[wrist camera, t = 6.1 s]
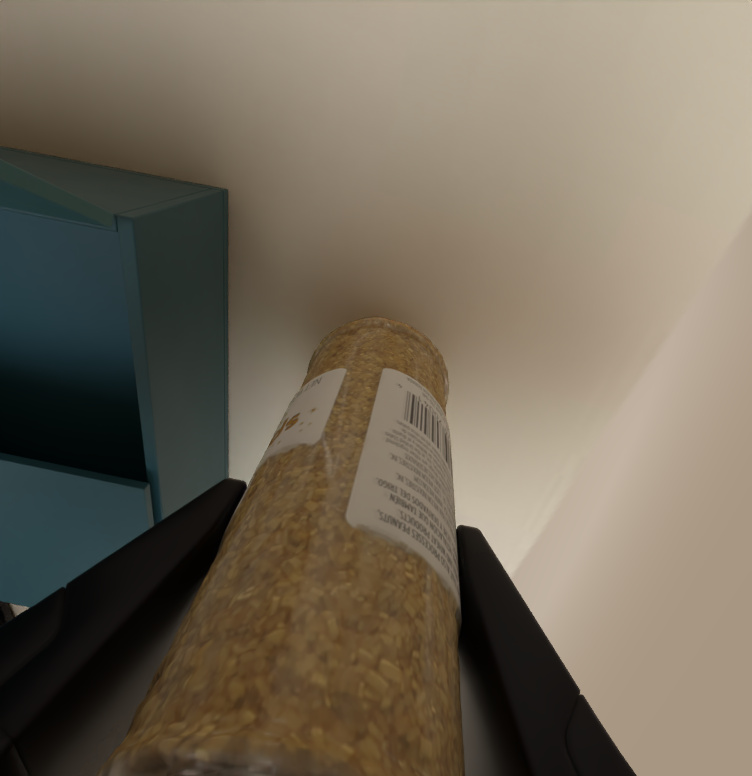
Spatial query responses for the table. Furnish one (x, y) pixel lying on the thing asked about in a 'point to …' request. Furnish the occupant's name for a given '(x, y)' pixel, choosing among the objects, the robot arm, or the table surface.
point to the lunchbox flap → (46, 198)
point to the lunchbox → (107, 367)
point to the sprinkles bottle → (326, 590)
